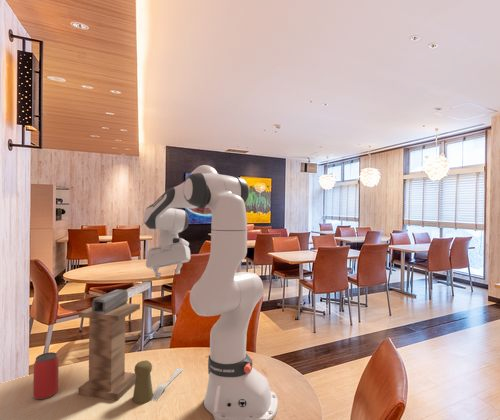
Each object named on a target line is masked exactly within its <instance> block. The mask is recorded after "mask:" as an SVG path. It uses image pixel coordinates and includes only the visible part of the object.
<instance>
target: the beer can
mask: <svg viewBox="0 0 500 420" xmlns="http://www.w3.org/2000/svg"><path fill="white" fill-rule="evenodd" d="M57 354H58V353H56V352H54V351H53V352H50V351H49V352H44V353H41V354H38V356H36V357H35V361H34V363H33V382H32V383H33V389H32V390H33V391H32V392H33V393H32V394H33V398H34V399H37V400H45V399H50V398H51V397H53V396H54V395H56V394H57V393H58V391H59V358H58V356H57Z"/></svg>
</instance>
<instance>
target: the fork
mask: <svg viewBox="0 0 500 420" xmlns="http://www.w3.org/2000/svg"><path fill="white" fill-rule="evenodd" d="M183 371H184V368H180V367H179V368H177V369H175V371H174V373H173V374H172V375H171V377H170V378H169V380H168V381H167V382H166V383H165V384H159V385H158V386H157V387H156V389H155V390H154V391H153V397H152V400H150V402H158V400H159V398H160V397H161V395H162V393H163V392H164V390H165V389H166V388H167V387H168V385H169V384H171V382H172V381H173V380H174V379H175V378H176V377H177V376H178V375H179V374H181V373H182V372H183Z"/></svg>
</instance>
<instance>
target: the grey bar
mask: <svg viewBox="0 0 500 420" xmlns="http://www.w3.org/2000/svg"><path fill="white" fill-rule="evenodd" d="M152 288H153V281H151V280H145V281H142V282H141V283H139V284H136V285H133V286H132V287H129V288H127V289H125V290H127V292H128V299H130V298H132V297H134V296H136V295H138V294H141V293H144V291H146V290H149V289H152Z"/></svg>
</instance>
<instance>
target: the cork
mask: <svg viewBox="0 0 500 420" xmlns="http://www.w3.org/2000/svg"><path fill="white" fill-rule="evenodd" d="M152 371H153V365H152V363H151V361H149V360H141V361H138V362H137V363H136V364H135V366H134V373H135V374H136V381H135V384H134V388H133V397H132V401H133V403H134V404H138V405H143V404H146V403H149V402H151V400H152V401H153V399H152V397H153V395H154V391H153V386H152V385H153V383H152V376H151V372H152ZM153 398H154V397H153Z"/></svg>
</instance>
